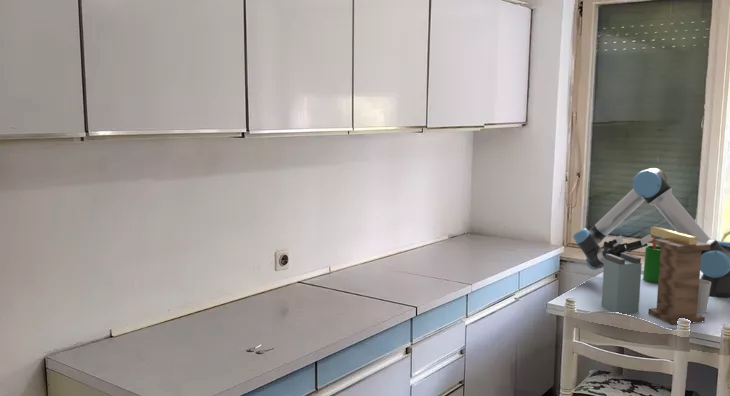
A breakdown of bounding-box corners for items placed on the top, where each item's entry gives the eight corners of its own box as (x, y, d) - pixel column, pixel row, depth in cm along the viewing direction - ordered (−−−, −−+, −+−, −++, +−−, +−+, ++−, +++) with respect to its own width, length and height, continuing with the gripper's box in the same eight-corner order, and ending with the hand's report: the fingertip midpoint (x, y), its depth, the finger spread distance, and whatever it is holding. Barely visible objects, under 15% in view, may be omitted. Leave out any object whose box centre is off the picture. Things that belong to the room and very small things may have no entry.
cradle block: (601, 306, 264) (604, 254, 261) (623, 305, 267) (626, 252, 264) (616, 314, 255) (619, 259, 252) (638, 312, 257) (641, 258, 254)
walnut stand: (648, 313, 256) (653, 239, 252) (678, 311, 259) (684, 237, 255) (672, 324, 242) (678, 246, 238) (704, 322, 245) (710, 244, 241)
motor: (666, 283, 300) (669, 241, 297) (645, 282, 302) (648, 240, 299) (660, 278, 310) (663, 237, 307) (641, 277, 312) (643, 236, 309)
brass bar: (650, 234, 262) (651, 226, 261) (657, 233, 262) (657, 226, 262) (689, 245, 240) (689, 237, 240) (696, 244, 241) (696, 237, 241)
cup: (682, 307, 264) (684, 279, 262) (701, 307, 264) (703, 278, 263) (694, 313, 256) (696, 284, 254) (713, 313, 257) (715, 283, 255)
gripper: (636, 260, 293) (664, 245, 273) (586, 262, 287) (611, 247, 268) (632, 244, 295) (660, 228, 276) (582, 246, 290) (607, 230, 271)
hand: (636, 237), depth 272 cm, fingers open, 13 cm apart
